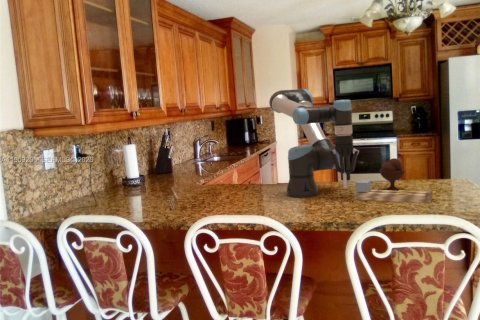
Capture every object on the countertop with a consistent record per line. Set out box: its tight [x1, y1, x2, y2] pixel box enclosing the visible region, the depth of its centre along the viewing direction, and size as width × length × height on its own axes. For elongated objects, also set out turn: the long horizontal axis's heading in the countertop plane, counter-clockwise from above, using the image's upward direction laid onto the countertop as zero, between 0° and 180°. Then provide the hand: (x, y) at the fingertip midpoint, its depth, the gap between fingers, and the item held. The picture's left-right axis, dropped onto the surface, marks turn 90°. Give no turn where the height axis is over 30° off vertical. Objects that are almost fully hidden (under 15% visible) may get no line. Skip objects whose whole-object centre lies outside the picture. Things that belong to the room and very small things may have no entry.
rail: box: [354, 189, 434, 204], centre depth 174 cm, size 30×8×4 cm, turn 58°
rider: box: [355, 179, 373, 192], centre depth 180 cm, size 5×7×6 cm
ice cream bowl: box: [379, 158, 406, 191], centre depth 192 cm, size 11×11×15 cm
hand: (346, 187), depth 184 cm, fingers closed
